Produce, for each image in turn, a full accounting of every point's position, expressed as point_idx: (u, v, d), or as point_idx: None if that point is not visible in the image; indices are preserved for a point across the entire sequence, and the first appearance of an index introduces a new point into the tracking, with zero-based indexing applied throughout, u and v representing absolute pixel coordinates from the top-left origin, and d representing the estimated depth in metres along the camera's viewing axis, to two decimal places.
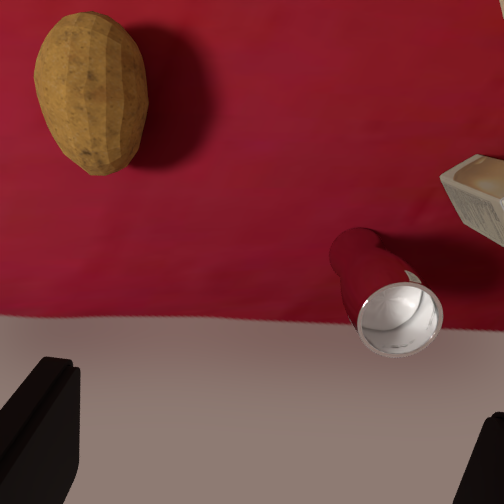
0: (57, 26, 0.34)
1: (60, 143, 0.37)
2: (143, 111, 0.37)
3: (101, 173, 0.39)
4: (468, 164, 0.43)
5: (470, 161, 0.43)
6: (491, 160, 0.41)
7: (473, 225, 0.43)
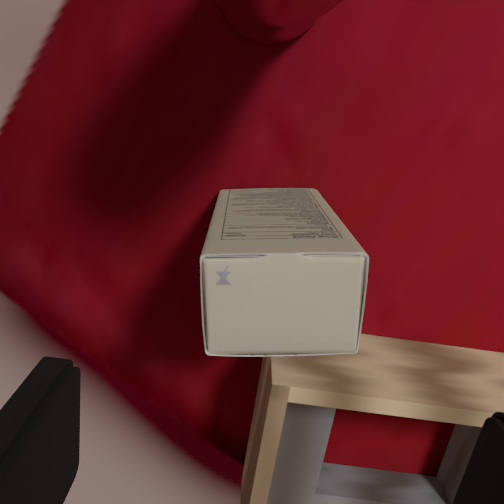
0: None
1: None
2: None
3: None
4: None
5: None
6: None
7: (231, 199, 0.24)
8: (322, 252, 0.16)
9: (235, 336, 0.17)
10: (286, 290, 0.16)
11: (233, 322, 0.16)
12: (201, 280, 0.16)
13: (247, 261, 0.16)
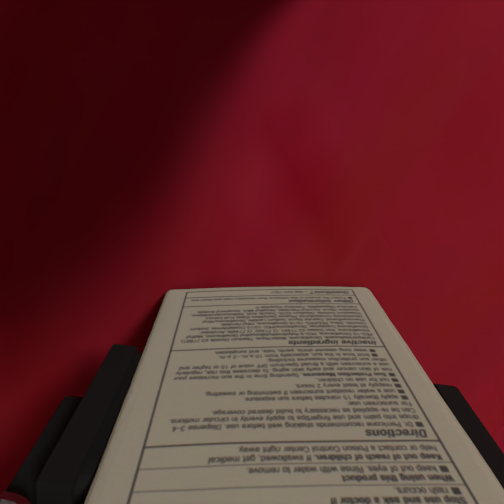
0: None
1: None
2: None
3: None
4: None
5: None
6: None
7: (180, 342, 0.10)
8: None
9: None
10: None
11: None
12: None
13: None
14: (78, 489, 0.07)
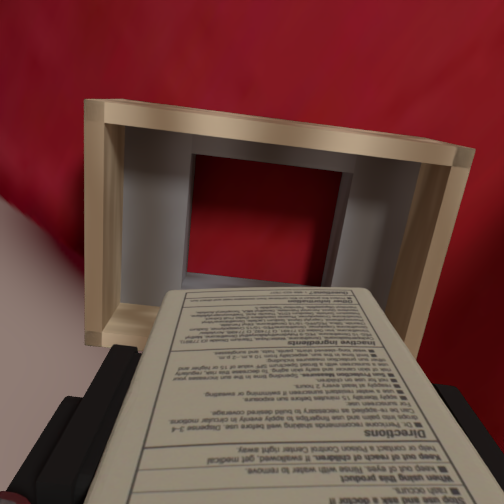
0: None
1: None
2: None
3: None
4: None
5: None
6: None
7: (179, 342, 0.10)
8: None
9: None
10: None
11: None
12: None
13: None
14: (78, 489, 0.07)
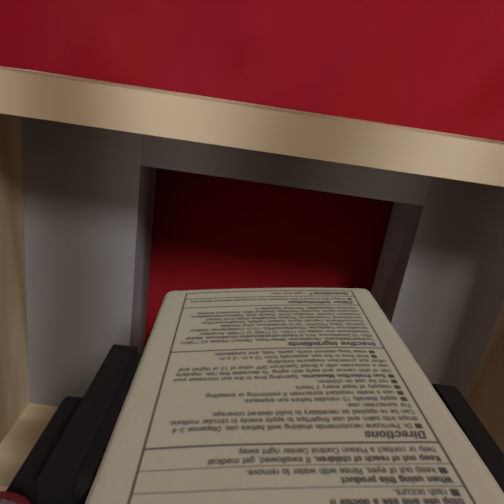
0: None
1: None
2: None
3: None
4: None
5: None
6: None
7: (180, 343, 0.10)
8: None
9: None
10: None
11: None
12: None
13: None
14: (78, 489, 0.07)
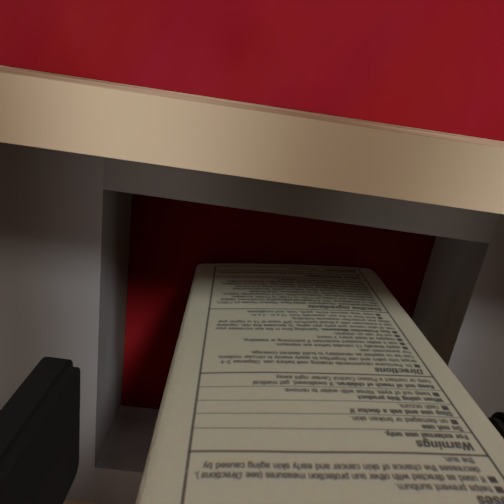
0: None
1: None
2: None
3: None
4: None
5: None
6: None
7: (216, 302, 0.12)
8: None
9: None
10: None
11: None
12: None
13: None
14: None
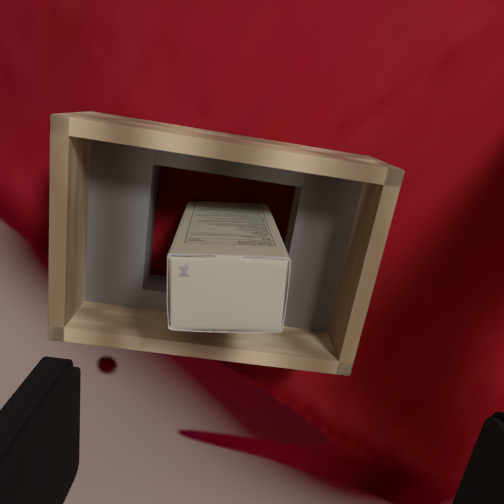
0: None
1: None
2: None
3: None
4: None
5: None
6: None
7: (196, 210, 0.30)
8: (258, 256, 0.22)
9: (191, 315, 0.22)
10: (230, 282, 0.22)
11: (190, 305, 0.22)
12: (167, 272, 0.22)
13: (202, 259, 0.21)
14: None
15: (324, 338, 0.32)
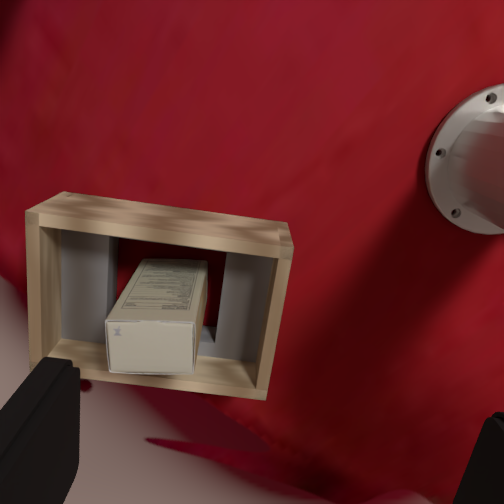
0: None
1: None
2: None
3: None
4: (206, 292, 0.40)
5: (206, 294, 0.41)
6: (203, 315, 0.39)
7: (144, 270, 0.38)
8: (170, 320, 0.30)
9: (125, 362, 0.31)
10: (151, 339, 0.30)
11: (123, 355, 0.30)
12: (106, 332, 0.30)
13: (130, 324, 0.30)
14: None
15: (251, 368, 0.40)
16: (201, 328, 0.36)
